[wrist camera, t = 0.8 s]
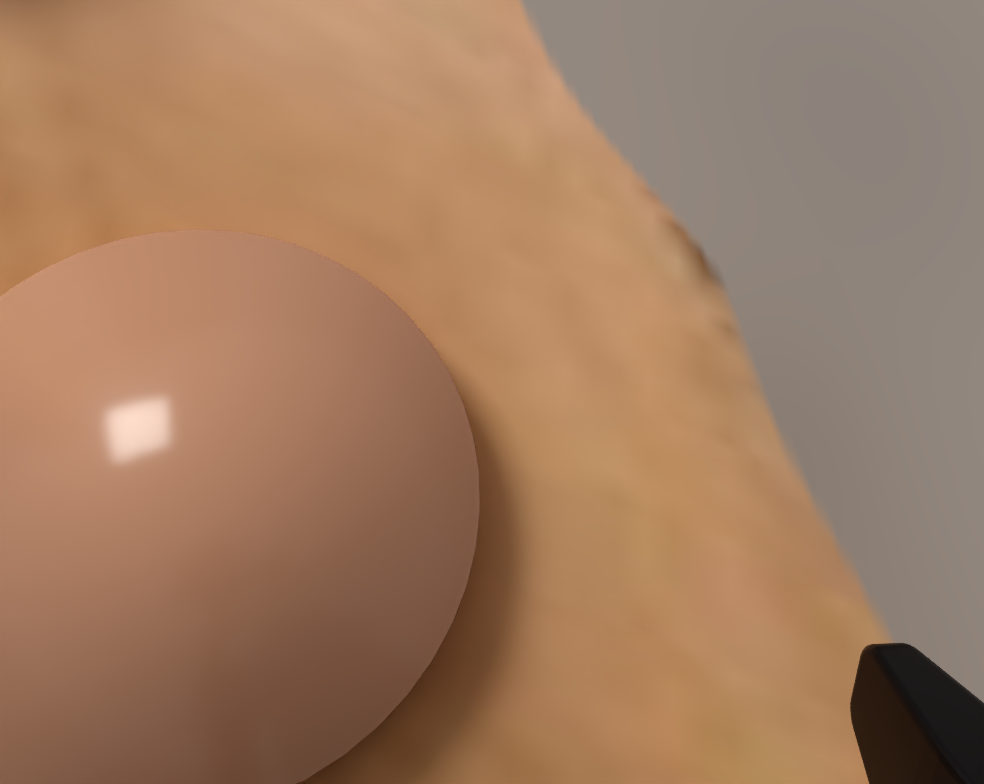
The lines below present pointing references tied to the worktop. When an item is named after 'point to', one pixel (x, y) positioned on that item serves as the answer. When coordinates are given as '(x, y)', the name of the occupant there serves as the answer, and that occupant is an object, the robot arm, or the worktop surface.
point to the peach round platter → (218, 512)
